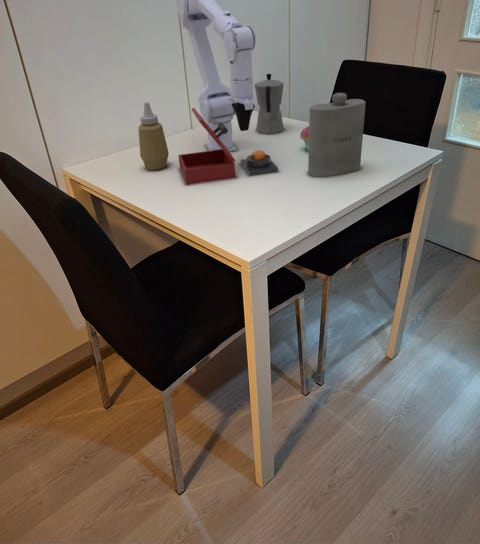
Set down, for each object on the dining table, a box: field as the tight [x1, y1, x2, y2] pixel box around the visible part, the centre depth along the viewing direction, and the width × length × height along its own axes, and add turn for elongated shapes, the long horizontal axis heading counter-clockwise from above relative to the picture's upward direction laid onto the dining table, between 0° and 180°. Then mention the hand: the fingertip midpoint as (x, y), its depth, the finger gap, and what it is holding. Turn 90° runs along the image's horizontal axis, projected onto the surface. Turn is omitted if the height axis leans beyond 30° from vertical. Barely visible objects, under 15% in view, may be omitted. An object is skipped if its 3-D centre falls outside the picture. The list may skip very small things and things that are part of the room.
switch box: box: [240, 153, 279, 177], centre depth 134 cm, size 10×8×3 cm
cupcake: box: [299, 125, 309, 152], centre depth 142 cm, size 9×8×12 cm
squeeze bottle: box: [138, 101, 170, 171], centre depth 135 cm, size 8×8×18 cm
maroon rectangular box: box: [177, 149, 237, 186], centre depth 133 cm, size 13×12×4 cm
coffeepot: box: [253, 73, 285, 135], centre depth 158 cm, size 15×9×18 cm, turn 175°
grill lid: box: [191, 107, 236, 163], centre depth 128 cm, size 14×12×4 cm
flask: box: [307, 92, 366, 178], centre depth 125 cm, size 15×6×20 cm, turn 109°
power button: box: [251, 150, 266, 160], centre depth 133 cm, size 4×4×2 cm
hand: (244, 130), depth 134 cm, fingers closed
